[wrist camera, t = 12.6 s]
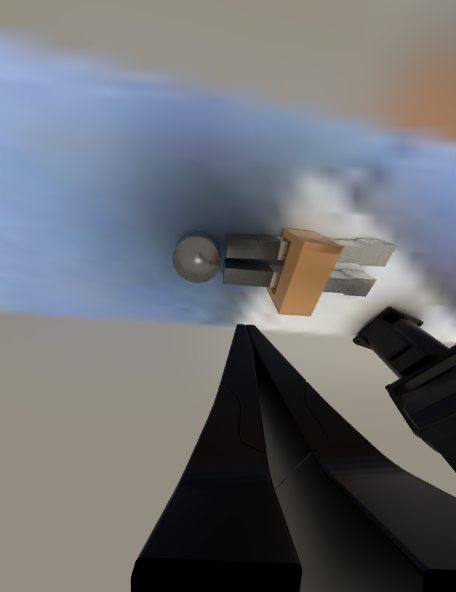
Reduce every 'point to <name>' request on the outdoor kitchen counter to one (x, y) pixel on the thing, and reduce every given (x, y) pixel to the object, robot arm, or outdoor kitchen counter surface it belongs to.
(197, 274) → the arm
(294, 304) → the orange u-shaped block
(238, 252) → the tongs free arm
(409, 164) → the outdoor kitchen counter surface
